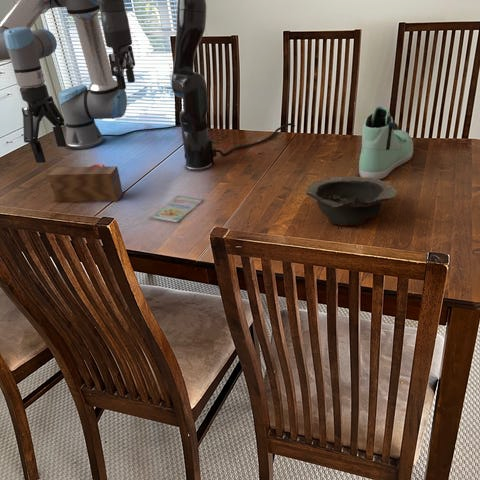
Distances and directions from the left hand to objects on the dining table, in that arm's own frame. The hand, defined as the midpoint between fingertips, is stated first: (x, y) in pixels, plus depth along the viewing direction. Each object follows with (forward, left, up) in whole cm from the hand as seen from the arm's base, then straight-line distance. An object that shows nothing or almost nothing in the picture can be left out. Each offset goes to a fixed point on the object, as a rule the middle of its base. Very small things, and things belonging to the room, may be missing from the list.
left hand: (52, 154), depth 151 cm
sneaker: (-94, +57, -15) cm, 111 cm away
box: (-6, +6, -15) cm, 18 cm away
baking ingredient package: (-23, +35, -15) cm, 45 cm away
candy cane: (-14, -12, -15) cm, 24 cm away
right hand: (-24, +11, +18) cm, 32 cm away
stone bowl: (-58, +72, -15) cm, 94 cm away
